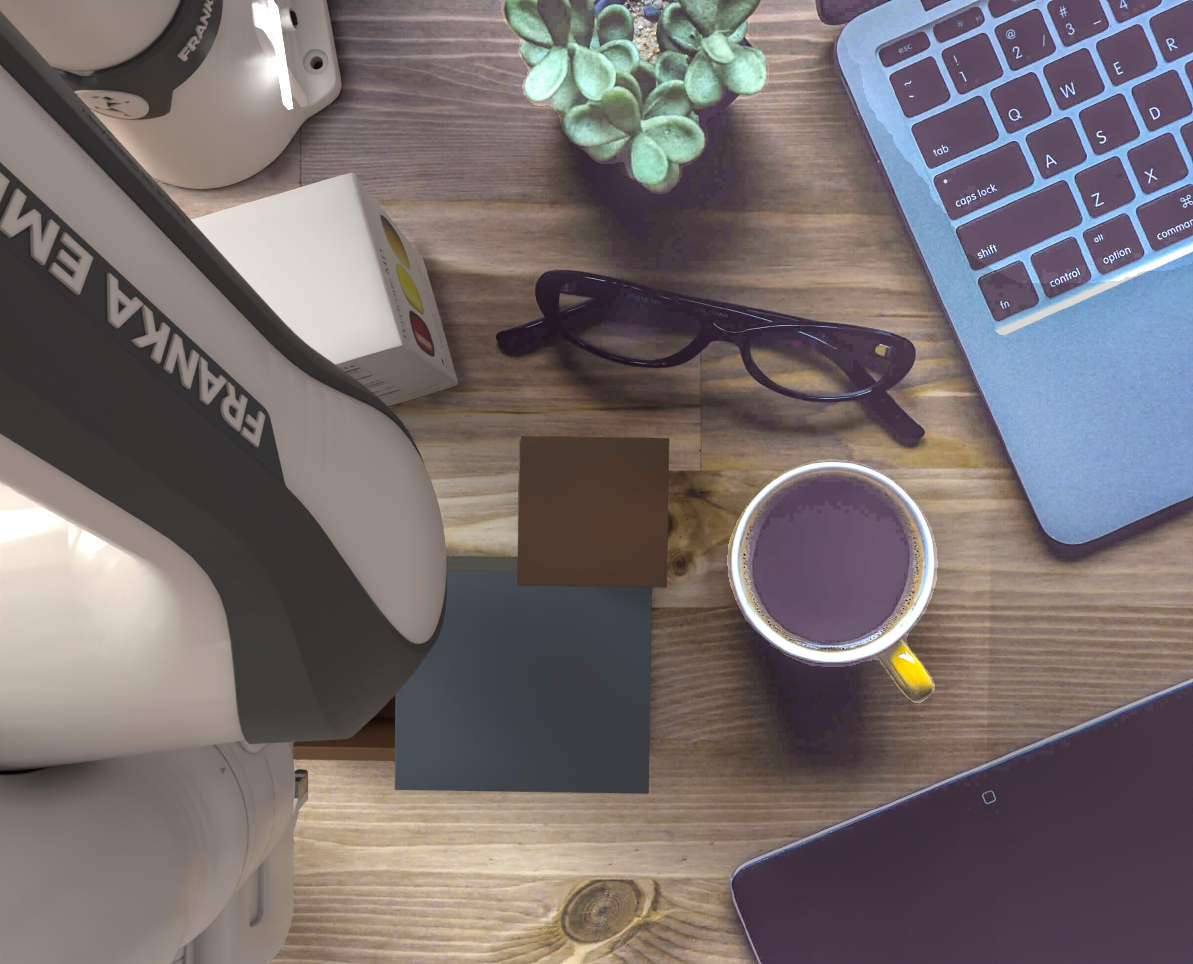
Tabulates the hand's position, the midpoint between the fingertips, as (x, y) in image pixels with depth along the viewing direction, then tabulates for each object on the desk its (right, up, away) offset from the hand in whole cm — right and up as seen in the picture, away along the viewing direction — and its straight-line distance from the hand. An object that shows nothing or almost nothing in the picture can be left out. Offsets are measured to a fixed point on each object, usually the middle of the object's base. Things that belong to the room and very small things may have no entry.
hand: (293, 692), depth 46 cm
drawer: (-1, 0, +14) cm, 14 cm away
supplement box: (+1, +21, +14) cm, 25 cm away
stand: (+16, +10, +14) cm, 23 cm away
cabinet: (+12, 0, +14) cm, 18 cm away
